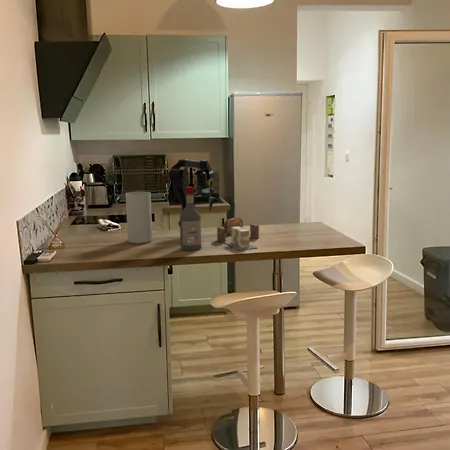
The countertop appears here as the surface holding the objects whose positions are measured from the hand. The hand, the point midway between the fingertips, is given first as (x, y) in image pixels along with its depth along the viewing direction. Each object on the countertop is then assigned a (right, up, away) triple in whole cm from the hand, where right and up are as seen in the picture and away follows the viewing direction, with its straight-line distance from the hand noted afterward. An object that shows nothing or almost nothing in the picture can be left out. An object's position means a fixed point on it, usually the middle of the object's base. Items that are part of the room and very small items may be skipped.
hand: (202, 211), depth 290 cm
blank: (+20, -18, -30) cm, 40 cm away
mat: (+20, -18, -30) cm, 40 cm away
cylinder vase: (-31, -16, -17) cm, 39 cm away
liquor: (-4, -19, -35) cm, 40 cm away
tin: (+17, -13, -1) cm, 21 cm away
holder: (+19, -15, -16) cm, 29 cm away
